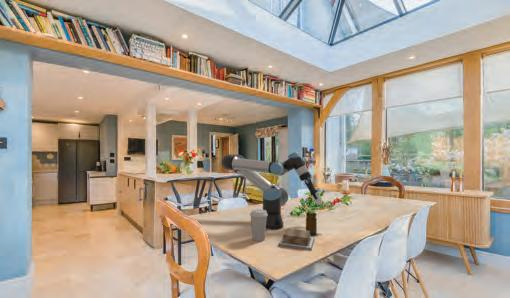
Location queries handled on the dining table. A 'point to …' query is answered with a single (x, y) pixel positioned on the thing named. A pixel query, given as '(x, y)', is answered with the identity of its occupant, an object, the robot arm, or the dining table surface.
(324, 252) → the dining table surface
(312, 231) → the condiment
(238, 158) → the robot arm
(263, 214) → the coffee cup
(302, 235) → the pedestal
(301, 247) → the plan board
